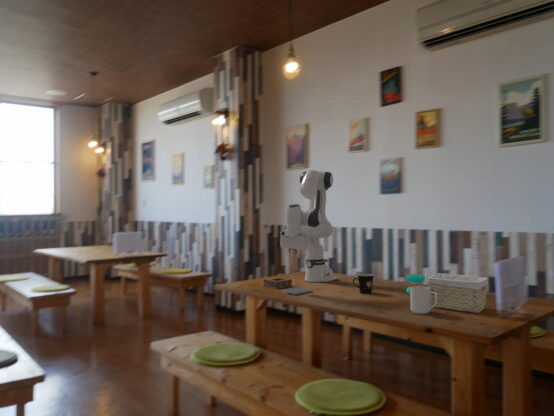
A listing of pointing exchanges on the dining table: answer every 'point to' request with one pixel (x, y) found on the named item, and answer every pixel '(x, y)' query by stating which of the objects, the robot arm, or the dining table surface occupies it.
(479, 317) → the dining table surface
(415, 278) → the donuts
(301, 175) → the robot arm
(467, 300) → the storage basket
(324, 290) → the dining table surface
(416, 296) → the mug
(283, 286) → the holder block
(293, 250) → the dowel pin
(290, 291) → the slate mat
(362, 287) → the coffee mug
